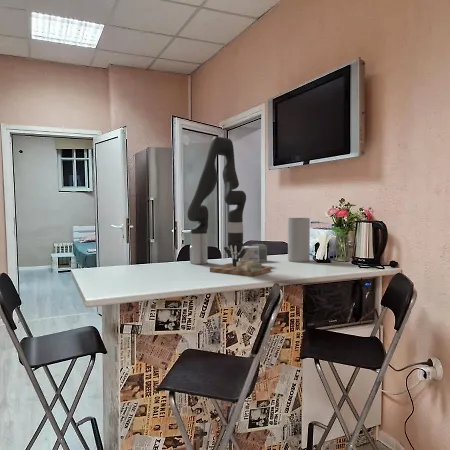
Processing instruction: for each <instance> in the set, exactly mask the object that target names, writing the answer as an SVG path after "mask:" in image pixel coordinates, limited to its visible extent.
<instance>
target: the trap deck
mask: <svg viewBox="0 0 450 450" xmlns="http://www.w3.org/2000/svg"><path fill="white" fill-rule="evenodd" d="M271 271H272V267H271V266H265V265H263V264H262V263H260V262H259V264H256V265H252V266H251V270H249V271H241V270H237V267H233V264H232V263H231V262H229V263H225V264H221V265H220V264H219V265H216V266H212V267H209V273H217V274H227V275H233V276H234V275H236V276H243V277H244V276H246V277H256V276H260V275H261V274H262V273H263V274H266V273H269V272H271Z"/></svg>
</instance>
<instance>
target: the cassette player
mask: <svg viewBox="0 0 450 450" xmlns="http://www.w3.org/2000/svg"><path fill="white" fill-rule="evenodd" d="M248 246H259V261H261V262H268V245H265V244H263V243H260V244H259V243H258V244H249V245H248Z"/></svg>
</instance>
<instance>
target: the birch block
mask: <svg viewBox="0 0 450 450" xmlns="http://www.w3.org/2000/svg"><path fill="white" fill-rule="evenodd" d="M236 265H237V270H241V271H249V270H251V266H252V265H254V261H246V260H242V261H240V260H239V261H238V262H236Z"/></svg>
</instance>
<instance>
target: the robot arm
mask: <svg viewBox="0 0 450 450" xmlns="http://www.w3.org/2000/svg"><path fill="white" fill-rule="evenodd" d="M206 155H207V156H206V159H205V162H204V167H203V169H202V173H201V175H200V178H199V180H198V185H197V187H196V191H195V193H194V195H193V198H192V199H191V202H190V204H189V207H188V209H187V213H186V214H187V219H188V220H189V221H190V222H194V223H195V222H197V224H196V225H195V226H193V227H192V228H191V229H190V242H191V243H190V246H189V263H190V264H193V265H203V264H204V265H205V264H208V228H209V209H208V207H207V206H206V205H204V204H202V203H203V202H204V201H205V200H206V199H207V198H208V197H209V196H210V195H211V194H212V193H213V191H214V190H215V188H216V185H217V182H218V178H219V177H218V172H217V168H216V163H215V162H216V158H217V156H222V157H224V158H225V160H226V162H225V165H224V168H223V169H222V170H223V171H222V179H223V184H224V202H225V204H227V205H228V206H236V207H235V209H231V210H229V211H228V213H227V216H228V217H227V218H228V220H227V221H228V223H227V241H228V242H227V245H226V246H224V247H223V250H224V251H225V254H226V255H227V256H228V258H230V259H232V264H233V267H237V265H236V262H238V261H240V258H242V257H243V256H244V254H245V253H246V251H247V250H248V249H247V248H245V247H244V246H245V245H244V223H243V221H244V220H243V216H244V210H245V206H246V202H247V195H246V193H245V191H244V190H237V188H238V187H239V185H240V182H239V179H238V175H237V171H236V162H235V150H234V144H233V141H232V139H230V138H227V137H223V136H214V137H213V138H212V139H211V141H210V144H209V148H208V151H207V154H206ZM241 249H242V250H241ZM240 251H241V253H240Z"/></svg>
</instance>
